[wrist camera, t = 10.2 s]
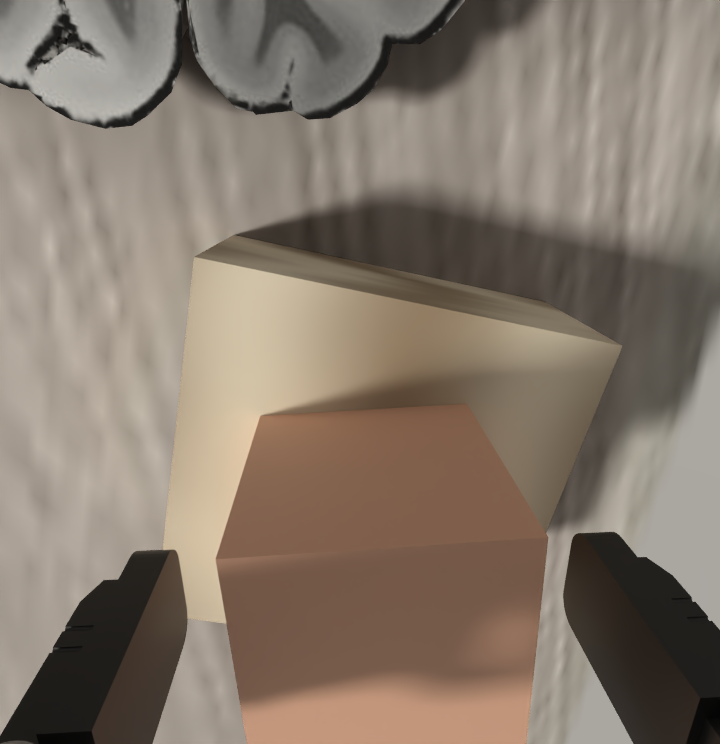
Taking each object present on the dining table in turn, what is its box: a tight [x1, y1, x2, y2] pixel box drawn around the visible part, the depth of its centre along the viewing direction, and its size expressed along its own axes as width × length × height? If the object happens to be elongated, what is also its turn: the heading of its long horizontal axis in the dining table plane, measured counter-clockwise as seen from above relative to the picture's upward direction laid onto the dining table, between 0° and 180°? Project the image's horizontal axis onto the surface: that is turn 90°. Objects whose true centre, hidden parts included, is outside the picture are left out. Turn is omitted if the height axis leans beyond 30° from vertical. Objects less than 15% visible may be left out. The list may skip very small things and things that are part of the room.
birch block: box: [163, 235, 623, 623], centre depth 16 cm, size 10×10×5 cm
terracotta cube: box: [216, 404, 548, 744], centre depth 11 cm, size 5×5×5 cm
